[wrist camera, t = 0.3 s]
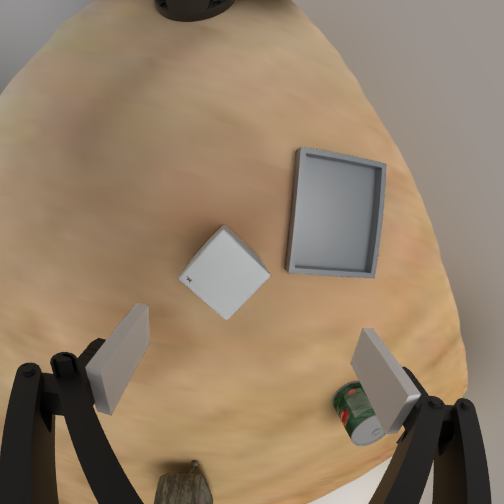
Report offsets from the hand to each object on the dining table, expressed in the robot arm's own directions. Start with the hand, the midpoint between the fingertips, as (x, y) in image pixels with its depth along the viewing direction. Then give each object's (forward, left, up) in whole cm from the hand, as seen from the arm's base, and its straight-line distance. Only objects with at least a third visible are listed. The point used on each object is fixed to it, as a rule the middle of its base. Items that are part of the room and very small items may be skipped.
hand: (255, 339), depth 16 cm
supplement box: (0, -2, -27) cm, 27 cm away
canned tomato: (+26, +24, -27) cm, 44 cm away
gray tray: (-8, +14, -27) cm, 31 cm away
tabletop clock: (+52, -8, -27) cm, 59 cm away
